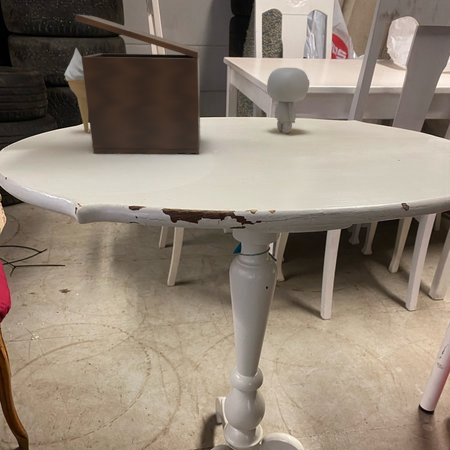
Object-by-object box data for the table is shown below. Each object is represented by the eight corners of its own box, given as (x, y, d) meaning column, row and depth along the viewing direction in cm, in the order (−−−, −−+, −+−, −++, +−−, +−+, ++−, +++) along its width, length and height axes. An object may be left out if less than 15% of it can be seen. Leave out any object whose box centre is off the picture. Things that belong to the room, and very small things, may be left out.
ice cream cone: (69, 134, 91) (56, 47, 84) (76, 129, 96) (64, 46, 88) (98, 135, 91) (88, 48, 84) (103, 130, 96) (94, 47, 89)
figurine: (310, 134, 95) (317, 68, 89) (278, 137, 92) (282, 69, 86) (289, 127, 101) (294, 66, 95) (259, 130, 98) (262, 66, 92)
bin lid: (74, 20, 68) (75, 14, 68) (93, 21, 79) (94, 16, 79) (196, 58, 71) (198, 52, 71) (198, 54, 82) (199, 49, 82)
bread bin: (93, 153, 78) (81, 56, 71) (107, 138, 89) (98, 53, 82) (198, 154, 78) (197, 58, 71) (200, 139, 89) (199, 54, 82)
